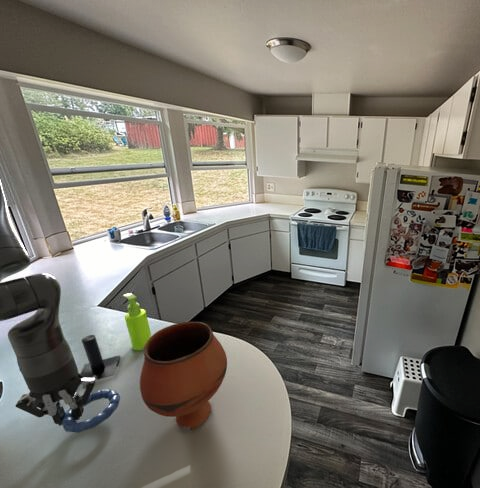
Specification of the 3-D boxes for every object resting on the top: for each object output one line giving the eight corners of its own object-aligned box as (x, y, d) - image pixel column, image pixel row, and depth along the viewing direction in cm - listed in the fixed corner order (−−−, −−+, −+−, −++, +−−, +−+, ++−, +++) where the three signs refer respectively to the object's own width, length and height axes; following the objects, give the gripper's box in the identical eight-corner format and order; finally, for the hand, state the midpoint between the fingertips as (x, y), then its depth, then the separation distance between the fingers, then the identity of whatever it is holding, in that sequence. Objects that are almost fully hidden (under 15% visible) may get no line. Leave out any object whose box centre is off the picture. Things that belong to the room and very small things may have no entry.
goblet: (215, 454, 58) (202, 372, 50) (132, 453, 58) (105, 370, 50) (240, 383, 76) (233, 315, 68) (177, 383, 76) (162, 313, 68)
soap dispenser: (146, 335, 95) (135, 289, 88) (155, 342, 91) (145, 295, 85) (128, 345, 90) (115, 296, 83) (137, 352, 87) (124, 303, 80)
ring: (55, 442, 55) (52, 436, 54) (73, 403, 63) (71, 397, 63) (115, 422, 59) (113, 416, 59) (124, 387, 68) (122, 382, 67)
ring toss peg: (75, 388, 73) (61, 353, 69) (85, 366, 80) (73, 333, 76) (114, 377, 77) (103, 343, 73) (120, 357, 85) (111, 325, 80)
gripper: (95, 342, 60) (111, 395, 66) (12, 360, 54) (38, 417, 60) (84, 364, 54) (103, 421, 60) (-11, 387, 48) (20, 448, 53)
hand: (70, 419), depth 60 cm, fingers closed on ring, 2 cm apart
